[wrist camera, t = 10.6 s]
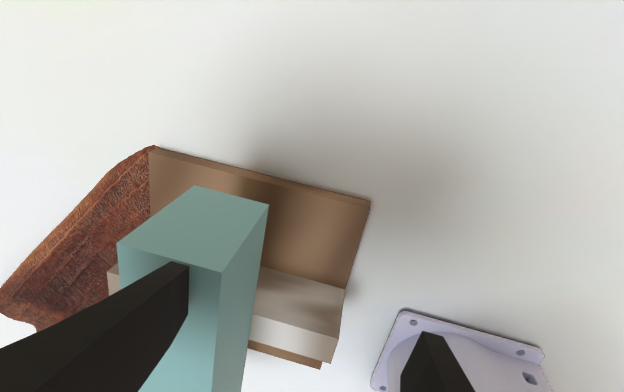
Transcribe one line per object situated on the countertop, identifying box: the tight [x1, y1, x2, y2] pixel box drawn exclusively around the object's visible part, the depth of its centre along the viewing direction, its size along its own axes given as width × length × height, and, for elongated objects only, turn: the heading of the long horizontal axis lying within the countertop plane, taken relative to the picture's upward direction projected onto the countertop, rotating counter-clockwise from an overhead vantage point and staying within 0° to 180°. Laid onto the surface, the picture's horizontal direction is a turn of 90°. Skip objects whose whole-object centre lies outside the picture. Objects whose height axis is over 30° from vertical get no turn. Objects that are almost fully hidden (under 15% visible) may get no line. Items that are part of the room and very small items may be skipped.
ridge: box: [107, 148, 370, 370], centre depth 20 cm, size 14×14×5 cm
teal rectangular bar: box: [116, 185, 269, 392], centre depth 16 cm, size 16×4×5 cm, turn 169°
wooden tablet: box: [0, 145, 159, 332], centre depth 25 cm, size 26×2×10 cm
